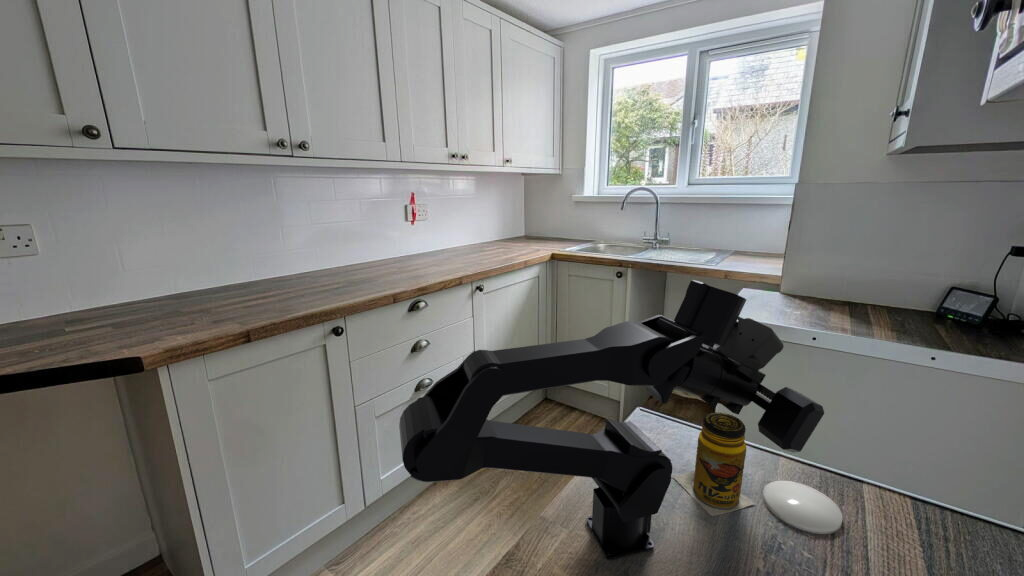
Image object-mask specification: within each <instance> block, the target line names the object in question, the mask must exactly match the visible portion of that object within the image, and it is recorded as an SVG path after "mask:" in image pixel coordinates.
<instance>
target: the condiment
mask: <svg viewBox="0 0 1024 576" xmlns="http://www.w3.org/2000/svg"><path fill="white" fill-rule="evenodd" d="M746 429H747V428H746V425H745V423H744V422H743V421H742V420H741V419H740V418H738V417H736V416H734V415H733V414H729V413H725V412H710V413H708V414H705V416H704V417H703V419H702V426H701V431H700V432H699V433H698V438H697V447H696V456H695V466H694V467H695V469H694V471H689V472H686V473H685V472H684V473H681V474H677V475H676V474H675V475H671V478H673V479H675V481H676V482H677V483H678V484H679V485H681V486H682V488H683V489H684V490H686V492H687V493H688V494H689V495H690V496H691V497H692V498H693V500H695V501H696V502H697V503H698V504H699V505H700V507H702V508H703V509H704V510H705V512H707V513H708V514H709V515H710V516H711V517H717V516H721V515H723V514H728V513H730V512H731V513H732V512H735V511H738V510H741V509H744V508H747V507H749V506H754V505H755V504H756V503H755V502H754V501H753V500H751V499H750V498H749V497H748V496H746V495H745V494H744V492H742V491H741V490H742V489H741V488H742V485H743V476H744V469H745V461H746V456H747V444H746V442H745V439H746Z"/></svg>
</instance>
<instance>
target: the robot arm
mask: <svg viewBox="0 0 1024 576" xmlns="http://www.w3.org/2000/svg"><path fill="white" fill-rule="evenodd" d="M746 302H747V299H746V298H745V297H742V296H741V295H739V294H737V293H733V292H731V291H727V290H724V289H720V288H718V287H714V286H712V285H709V284H707V283H704V282H702V281H699V280H694V279H692V280H690V282H689V284H688V286H687V289H686V291H685V296H684V298H683V300H682V302H681V305H680V307H679V309H678V311H677V313H676V315H675V317H674V319H671V318H669V317H666V316H664V315H662V314H657V315H654V316H651V317H649V318H646V319H643V320H640V321H637V320H625V321H624V322H620V323H616V324H614V325H610V326H607V327H604V328H603V329H601V330H600V331H599V332H598V333H596V334H595V335H593V336H590V337H586V338H581V339H574V340H566V341H559V342H558V341H557V342H552V343H551V342H550V343H541V344H535V345H533V344H532V345H527V346H519V347H511V348H503V349H495V350H489V349H488V350H487V349H477V350H475V351H473V352H471V353H470V354H469V355H467V356H466V358H465V359H464V360H463V361H462V362H461V363H460V364H459V366H457V367H456V368H455V369H454V370H452V371H451V372H449V373H447V374H446V375H445V376H443V377H441V378H440V379H438V380H437V381H436V382H435V383H434V384H433V385H432V386H431V387H430V388H429V389H428V390H427V392H426V393H425V394H424V395H423V396H422V397H418V398H417V399H416V400H415V401H413V402H411V403H410V404H408V406H407V407H406V408H405V409H404V410H403V411H402V414H401V416H400V418H399V425H398V426H399V427H398V428H399V429H398V430H399V438H400V447H401V457H402V463H403V466H404V468H405V470H406V471H407V472H408V474H409V475H410V477H411V478H412V479H414V480H415V481H418V482H421V483H435V482H436V483H437V482H449V481H460V480H463V479H465V478H466V477H469V476H470V475H473V474H475V473H476V472H478V471H480V470H482V469H493V470H494V469H497V470H504V471H505V470H506V471H516V472H526V473H527V472H528V473H539V474H549V475H550V474H551V475H561V476H570V477H571V476H572V477H581V478H582V477H583V478H591V479H592V480H593V482H594V483H595V484H596V485H597V486H598V487H594V488H593V491H592V493H593V494H592V510H591V511H592V513H591V514H592V515H588V516H587V517H586V524H587V525H588V527H589V529H590V532H591V533H592V535H593V537H594V538H595V540H596V542H597V544H598V547H600V550H601V552H602V554H603V556H604V558H606V559H607V560H614V559H618V558H623V557H627V556H632V555H636V554H640V553H644V552H649V551H652V550H654V548H655V544H654V542H653V540H652V538H651V537H650V536H649V534H650V532H651V527H652V516H653V515H656V514H658V513H659V510H660V508H661V505H662V503H663V501H664V498H665V497H666V494H667V491H668V490H669V487H670V484H671V480H672V474H673V464H672V462H671V459H670V458H669V457H668V456H667V455H666V454H665V453H664V452H663V450H662V449H661V448H660V447H659V445H657V444H656V443H655V442H654V441H652V440H651V438H649V436H647V435H646V434H645V433H644V432H643V431H642V430H641V429H640V428H639V427H637V426H636V425H635V424H634V423H633V422H632V421H631V420H627V421H616V420H614V419H611V418H607V419H606V421H605V425H604V428H603V429H601V430H600V431H597V432H596V433H587V432H579V431H578V432H577V431H571V430H562V429H556V428H550V427H541V426H533V425H527V424H519V423H512V422H504V421H497V420H489V419H488V416H489V415H490V413H491V411H492V409H493V408H494V406H495V405H496V404H497V403H498V402H499V401H500V400H501V398H502V397H504V396H510V395H511V396H512V395H515V394H517V395H518V394H523V393H530V392H536V391H540V390H547V389H552V388H560V387H565V386H567V387H568V386H572V385H577V384H579V385H580V384H584V383H590V382H596V381H597V382H598V381H602V382H603V381H606V382H607V381H608V382H612V383H617V384H621V385H624V386H625V385H626V386H634V387H645V391H646V392H647V393H648V394H650V395H651V396H652V397H654V398H655V399H657V401H659V402H660V403H662V404H663V405H666V404H667V403H668V402H669V400H670V399H671V396H672V394H673V392H674V390H677V391H680V392H683V393H686V394H690V395H693V396H695V397H698V398H700V399H701V400H702V401H703V402H705V403H706V404H707V405H709V406H711V407H713V408H716V407H717V405H718V404H720V405H722V406H723V407H724V408H725V409H727V410H729V412H731V413H732V414H735V415H740V413H741V411H742V409H743V408H744V407H747V406H748V405H750V404H751V402H752V403H754V404H755V405H757V406H758V407H760V408H761V409H763V410H764V411H763V412H764V413H763V414H762V416H761V417H760V419H759V420H758V422H757V427H758V432H759V433H760V434H761V435H763V436H764V437H765V438H767V440H769V441H771V442H772V443H773V444H775V445H776V446H777V447H779V448H780V449H782V450H784V451H786V452H790V453H793V454H794V453H801V451H802V450H803V448H805V445H806V444H807V442H808V441H809V439H810V437H811V436H812V434H813V432H814V431H815V429H816V427H817V426H818V425H819V423H820V421H821V420H822V418H823V417H824V415H825V410H824V408H823V407H824V406H823V405H821V404H820V403H819V402H817V401H814V400H813V399H811V398H809V397H807V396H806V395H804V394H803V393H801V392H799V391H796V390H795V389H793V388H790V387H787V386H785V387H783V388H781V389H779V390H777V391H776V392H775V391H773V390H772V389H771V388H768V387H766V386H765V385H764V384H762V382H763V381H764V380H765V377H766V376H767V375H766V374H765V373H763V372H762V371H760V370H761V369H763V368H765V367H766V366H767V365H768V364H769V363H770V361H771V360H772V359H773V358H774V357H775V356H776V355H777V354H780V352H782V350H783V349H784V348H785V347H784V343H783V342H782V341H781V339H780V337H779V336H778V335H777V334H776V332H775V331H774V330H773V328H771V326H769V325H766V324H763V323H761V322H759V321H758V320H755V319H753V318H750V317H747V318H744V317H742V316H740V315H741V312H742V310H743V309H744V307H745V304H746Z"/></svg>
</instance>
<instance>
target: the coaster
mask: <svg viewBox="0 0 1024 576" xmlns="http://www.w3.org/2000/svg"><path fill="white" fill-rule="evenodd" d="M762 498H763V502H764V505H765V506H766V507H767V509H768V510H769V511H770V512H771V513H772V514H773V515H774V516H775V517H777V518H778V519H779V520H781V521H783V522H784V523H786V524H787V525H789V526H791V527H793V528H795V529H798V530H800V531H804V532H807V533H811V534H817V535H829V534H834V533H836V532H838V531H839V530H840V528H841V527H842V523H843V513H842V511H841V509H840V508H839V506H838V505H837V504H836V503H835V502H834V501H833V500H832V499H831V498H829V496H827V495H825V494H824V493H823V492H820V491H819V490H817V489H815V488H813V487H811V486H808V485H807V484H803V483H800V482H797V481H790V480H774V481H772V482H769V483H768V484H766V485H765V486H764V488H763V495H762Z"/></svg>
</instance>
